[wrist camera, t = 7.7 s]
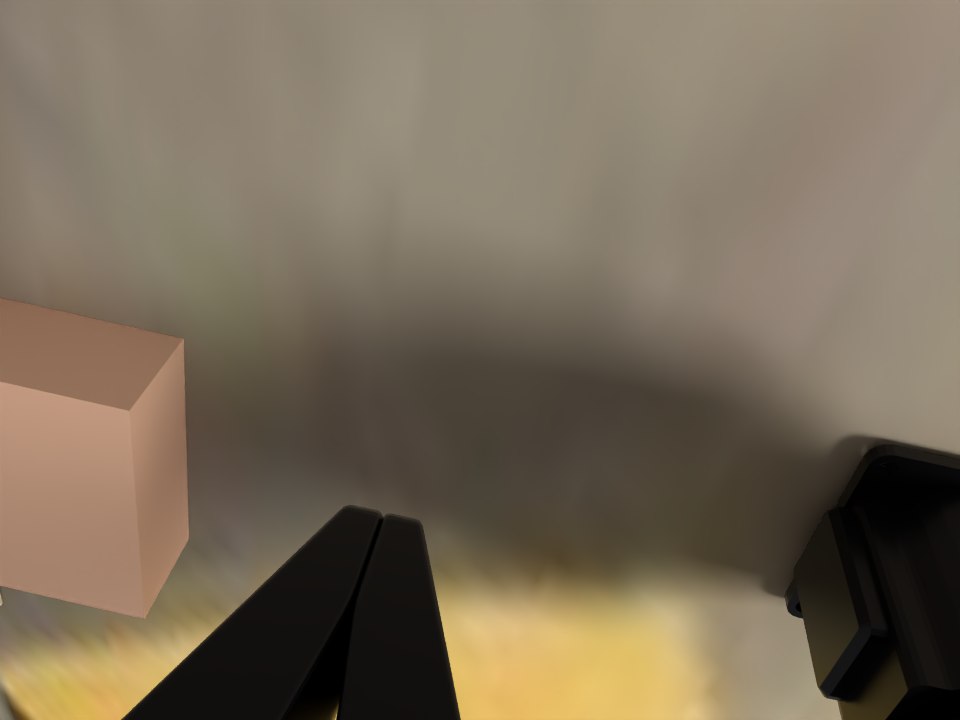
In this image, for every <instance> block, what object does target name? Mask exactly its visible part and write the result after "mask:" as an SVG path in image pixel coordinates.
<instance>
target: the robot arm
mask: <svg viewBox="0 0 960 720" xmlns="http://www.w3.org/2000/svg"><path fill="white" fill-rule="evenodd" d="M886 462H892V464H891V465H889V466H886V467H879V466H880V465H881V464H883V463H886ZM785 601H786V606H787V609H788V612H789V613H790V614H791V615H793V616H796V617H798V618H803V620H804V624H805V629H806V634H807V639H808V643H809V648H810V653H811V658H812V663H813V667H814V672H815V677H816V682H817V686H818V688H819V690H820V691H821V693H822V694H823V696H824V697H826V698H829V699H834V700H837V701H838V705H839V709H840V714H841V718H842V720H960V460H958V459H954V458H949V457H944V456H940V455H935V454H930V453H926V452H921V451H917V450H912V449H907V448H903V447H898V446H894V445H881V446H876V447H874V448H873V449H871V450H869V451H868V452H867V453H866V454H865V456H864V457H863V459H862V461H861V463H860V464H859V466H858V468H857V470H856V471H855V473H854V475H853V477H852V478H851V480H850V482H849V484H848V485H847V487H846V489H845V490H844V492H843V494H842V496H841V497H840V499H839V501H838V503H837V504H836V506H833V507H832V508H831V509H829V510H828V511H827V512H826V513H825V515H824V516H823V518H822V520H821V522H820V524H819V525H818V527H817V529H816V531H815V532H814V534H813V536H812V538H811V539H810V541H809V543H808V545H807V546H806V548H805V550H804V552H803V553H802V555H801V557H800V559H799V560H798V562H797V564H796V566H795V567H794V579H793V581H792V583H791V584H790V586H789V588H788V589H787V591H786V594H785ZM336 715H337V719H336V720H461V718H460V713H459V708H458V703H457V698H456V693H455V688H454V683H453V678H452V672H451V667H450V662H449V657H448V652H447V647H446V642H445V637H444V632H443V627H442V622H441V616H440V611H439V606H438V601H437V596H436V591H435V586H434V581H433V576H432V571H431V565H430V560H429V555H428V550H427V545H426V540H425V535H424V530H423V526H422V524H421V522H420V521H419V520H417V519H413V518H409V517H404V516H400V515H395V514H386V515H385V516H384V517H383V516H382V514H381V513H380V512H379V511H377V510H372V509H368V508H363V507H359V506H354V505H348V506H345V507H343V508H342V509H341V510H340V511H339V512H338V513H336V514H335V515H334V516H333V517H332V518H331V519H330V520H329V521H328V522H327V523H326V524H325V525H324V526H323V527H322V528H321V529H320V530H319V531H318V532H317V533H316V534H315V535H314V536H312V537H311V538H310V539H309V540H308V541H307V542H306V543H305V544H304V545H303V546H302V547H301V548H300V549H299V550H298V551H297V552H296V553H295V554H294V555H293V556H292V557H291V558H289V559H288V560H287V561H286V562H285V563H284V564H283V565H282V566H281V567H280V568H279V569H278V570H277V571H276V572H275V573H274V574H273V575H272V576H271V577H270V578H269V579H268V580H267V581H265V582H264V583H263V584H262V585H261V586H260V587H259V588H258V589H257V590H256V591H255V592H254V593H253V594H252V595H251V596H250V597H249V598H248V599H247V600H246V601H245V602H244V603H243V604H241V605H240V606H239V607H238V608H237V609H236V610H235V611H234V612H233V613H232V614H231V615H230V616H229V617H228V618H227V619H226V620H225V621H224V622H223V623H222V624H221V625H220V626H218V627H217V628H216V629H215V630H214V631H213V632H212V633H211V634H210V635H209V636H208V637H207V638H206V639H205V640H204V641H203V642H202V643H201V644H200V645H199V646H198V647H197V648H196V649H194V650H193V651H192V652H191V653H190V654H189V655H188V656H187V657H186V658H185V659H184V660H183V661H182V662H181V663H180V664H179V665H178V666H177V667H176V668H175V669H174V670H173V671H172V672H170V673H169V674H168V675H167V676H166V677H165V678H164V679H163V680H162V681H161V682H160V683H159V684H158V685H157V686H156V687H155V688H154V689H153V690H152V691H151V692H150V693H149V694H147V695H146V696H145V697H144V698H143V699H142V700H141V701H140V702H139V703H138V704H137V705H136V706H135V707H134V708H133V709H132V710H131V711H130V712H129V713H128V714H127V715H126V716H125V717H123V718H122V719H121V720H335V717H336Z"/></svg>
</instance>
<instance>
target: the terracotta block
mask: <svg viewBox="0 0 960 720" xmlns="http://www.w3.org/2000/svg"><path fill="white" fill-rule="evenodd" d="M188 540H189V526H188V488H187V450H186V412H185V373H184V339H182V338H178V337H173V336H169V335H164V334H160V333H155V332H151V331H146V330H142V329H138V328H133V327H129V326H124V325H120V324H115V323H111V322H106V321H102V320H97V319H93V318H88V317H84V316H80V315H75V314H71V313H66V312H62V311H57V310H53V309H48V308H44V307H39V306H35V305H30V304H26V303H22V302H17V301H13V300H8V299H4V298H0V586H4V587H8V588H12V589H17V590H21V591H25V592H30V593H34V594H39V595H43V596H47V597H52V598H56V599H60V600H65V601H69V602H73V603H78V604H82V605H86V606H91V607H95V608H100V609H104V610H108V611H113V612H117V613H121V614H126V615H130V616H134V617H139V618H143V619H145V617H146V615H147V614H148V612H149V610H150V608H151V606H152V605H153V603H154V601H155V599H156V597H157V596H158V594H159V592H160V590H161V588H162V587H163V585H164V583H165V581H166V579H167V578H168V576H169V574H170V572H171V570H172V568H173V567H174V565H175V563H176V561H177V559H178V558H179V556H180V554H181V552H182V550H183V549H184V547H185V545H186V543H187V541H188Z"/></svg>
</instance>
